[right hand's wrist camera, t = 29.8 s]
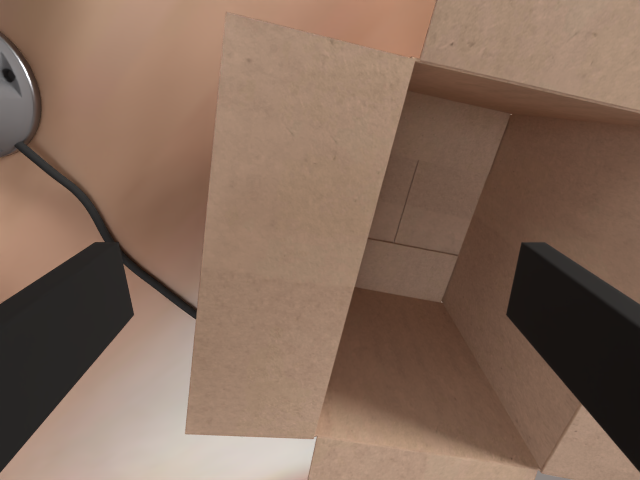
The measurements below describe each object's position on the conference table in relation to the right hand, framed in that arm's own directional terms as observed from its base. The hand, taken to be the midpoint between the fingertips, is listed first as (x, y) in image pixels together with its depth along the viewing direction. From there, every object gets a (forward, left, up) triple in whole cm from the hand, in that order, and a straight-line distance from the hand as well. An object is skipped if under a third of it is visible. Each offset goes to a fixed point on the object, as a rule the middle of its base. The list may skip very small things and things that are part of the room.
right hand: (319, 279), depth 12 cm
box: (-13, 0, -34) cm, 37 cm away
